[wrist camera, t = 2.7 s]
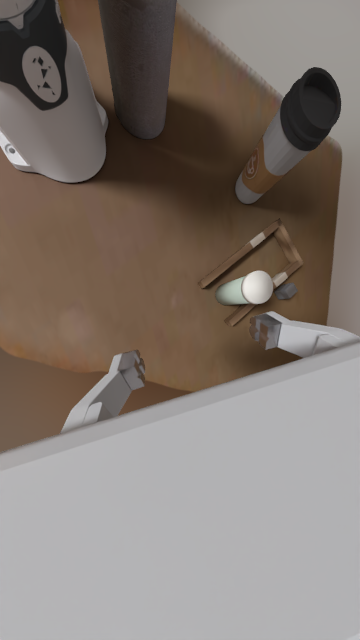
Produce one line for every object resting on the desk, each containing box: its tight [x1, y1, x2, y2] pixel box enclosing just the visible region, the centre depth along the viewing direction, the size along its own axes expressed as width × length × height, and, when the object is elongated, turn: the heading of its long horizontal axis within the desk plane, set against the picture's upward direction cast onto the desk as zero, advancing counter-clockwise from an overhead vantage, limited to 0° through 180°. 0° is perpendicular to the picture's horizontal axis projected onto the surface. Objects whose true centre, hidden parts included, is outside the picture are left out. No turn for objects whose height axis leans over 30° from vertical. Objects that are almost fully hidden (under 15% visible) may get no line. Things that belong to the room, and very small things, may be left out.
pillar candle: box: [98, 0, 177, 139], centre depth 21 cm, size 10×10×15 cm
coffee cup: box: [235, 67, 341, 204], centre depth 26 cm, size 8×8×15 cm
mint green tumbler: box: [216, 271, 273, 305], centre depth 29 cm, size 5×5×11 cm
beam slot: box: [198, 218, 303, 326], centre depth 34 cm, size 16×25×3 cm, turn 129°
